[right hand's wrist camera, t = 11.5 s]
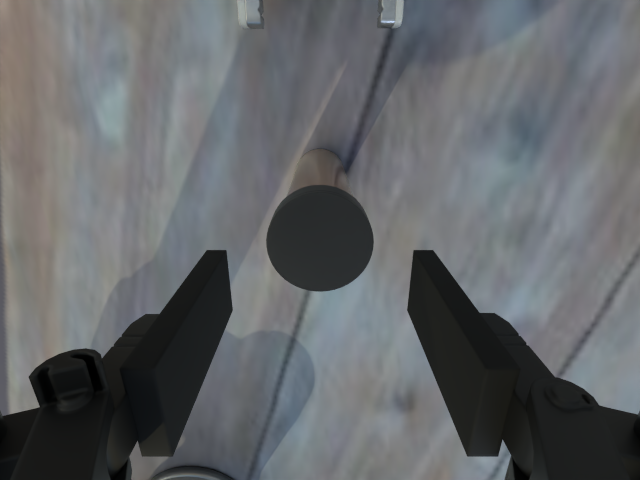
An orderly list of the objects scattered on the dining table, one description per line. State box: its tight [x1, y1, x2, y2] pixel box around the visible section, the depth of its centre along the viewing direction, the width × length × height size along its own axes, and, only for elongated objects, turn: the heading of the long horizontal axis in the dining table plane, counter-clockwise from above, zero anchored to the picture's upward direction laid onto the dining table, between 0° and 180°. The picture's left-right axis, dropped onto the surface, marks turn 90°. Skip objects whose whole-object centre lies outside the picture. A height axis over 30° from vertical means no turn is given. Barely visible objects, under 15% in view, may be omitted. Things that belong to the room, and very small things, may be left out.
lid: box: [266, 185, 374, 291], centre depth 19 cm, size 5×5×2 cm
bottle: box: [287, 149, 353, 196], centre depth 27 cm, size 5×5×18 cm
